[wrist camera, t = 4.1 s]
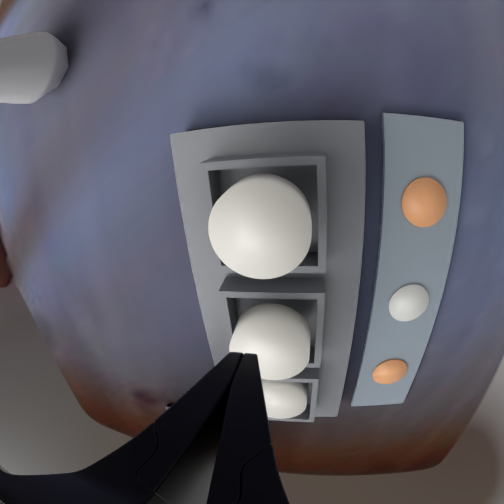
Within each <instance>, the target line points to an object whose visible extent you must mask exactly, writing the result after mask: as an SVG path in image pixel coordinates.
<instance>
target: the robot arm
mask: <svg viewBox="0 0 504 504" xmlns="http://www.w3.org/2000/svg"><path fill="white" fill-rule="evenodd" d="M0 504H289V501H288V499H287V496H286V494H285V491H284V488H283V485H282V482H281V479H280V476H279V473H278V469H277V464H276V460H275V455H274V449H273V445H272V439H271V433H270V427H269V421H268V416H267V410H266V404H265V398H264V392H263V386H262V380H261V374H260V368H259V362H258V356H257V354H253V353H244V354H243V353H241V352H229V353H228V354H227V355H226V356H225V357H224V358H223V359H222V360H221V361H220V362H219V363H218V364H217V365H215V366H214V367H213V368H212V369H211V370H210V371H209V372H208V373H207V374H206V375H205V376H204V377H203V378H202V379H201V380H199V381H198V382H197V383H196V384H195V385H194V386H193V387H192V388H191V389H190V390H189V391H187V392H186V393H185V394H184V395H183V396H182V397H181V398H180V399H179V400H177V401H176V402H175V403H174V404H173V405H171V404H167V406H166V411H165V412H164V413H163V414H162V415H161V416H159V417H158V418H157V419H156V420H155V423H154V422H152V423H151V424H150V425H149V426H148V427H147V428H145V429H144V430H143V431H142V432H140V433H139V434H138V435H137V436H135V437H134V438H133V439H131V440H130V441H129V442H127V443H126V444H124V445H123V446H121V447H120V448H118V449H117V450H115V451H114V452H112V453H110V454H109V455H107V456H105V457H104V458H102V459H101V460H99V461H97V462H96V463H94V464H92V465H91V466H89V467H87V468H85V469H82V470H79V471H76V472H72V473H63V474H49V475H13V474H11V473H9V472H8V471H7V470H5V469H4V468H3V467H1V466H0Z"/></svg>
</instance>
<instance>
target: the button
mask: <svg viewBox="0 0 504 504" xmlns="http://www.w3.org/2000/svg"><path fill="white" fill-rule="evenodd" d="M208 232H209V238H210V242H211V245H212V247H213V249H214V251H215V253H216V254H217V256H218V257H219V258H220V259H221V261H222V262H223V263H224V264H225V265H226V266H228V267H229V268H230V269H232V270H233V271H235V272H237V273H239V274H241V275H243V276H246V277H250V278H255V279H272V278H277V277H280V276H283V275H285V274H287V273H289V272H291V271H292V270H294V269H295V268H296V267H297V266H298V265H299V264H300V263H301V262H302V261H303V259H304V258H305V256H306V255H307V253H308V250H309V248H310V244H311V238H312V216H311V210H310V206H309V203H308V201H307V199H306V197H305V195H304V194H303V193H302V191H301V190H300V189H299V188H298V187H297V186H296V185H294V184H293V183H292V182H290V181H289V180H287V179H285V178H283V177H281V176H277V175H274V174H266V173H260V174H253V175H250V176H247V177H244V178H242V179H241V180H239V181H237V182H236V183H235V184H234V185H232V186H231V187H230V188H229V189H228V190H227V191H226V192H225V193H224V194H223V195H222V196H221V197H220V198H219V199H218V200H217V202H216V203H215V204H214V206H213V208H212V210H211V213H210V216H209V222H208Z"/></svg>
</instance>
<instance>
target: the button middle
mask: <svg viewBox="0 0 504 504" xmlns="http://www.w3.org/2000/svg"><path fill="white" fill-rule="evenodd" d="M310 339H311V331H310V327H309V324H308V322H307V321H306V319H305V318H304V317H303V316H302V315H301V314H300V313H299V312H297V311H296V310H294V309H292V308H290V307H287V306H284V305H281V304H273V303H266V304H260V305H256V306H253V307H251V308H249V309H247V310H246V311H245V312H244V313H243V314H242V315H241V316H240V318H239V320H238V322H237V325H236V327H235V330H234V333H233V336H232V338H231V341H230V345H229V352H241V353H243V354H244V353H253V354H257V356H258V362H259V368H260V374H261V379H265V380H283V379H287V378H291V377H293V376H295V375H297V374H299V373H300V372H301V371H303V370H304V368H305V367H306V366H307V364H308V362H309V357H310Z"/></svg>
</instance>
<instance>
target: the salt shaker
mask: <svg viewBox="0 0 504 504" xmlns="http://www.w3.org/2000/svg"><path fill="white" fill-rule="evenodd" d="M68 67H69V65H68V56H67V47H66V46H65V45H64V44H62V43H61V42H60V41H59V40H58V39H57V38H56V37H54V36H53V35H51V34H49V33H47V32H45V31H40V32H33V33H27V34H21V35H16V36H11V37H6V38H1V39H0V103H15V104H30V103H33V102H35V101H36V100H38V99H39V98H41V97H42V96H43V95H45V94H47V93H48V92H50V91H52V90H53V89H55V88H57V87H59V85H60V83H61V81H62V79H63V77H64V75H65V73H66V71H67V69H68Z"/></svg>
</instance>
